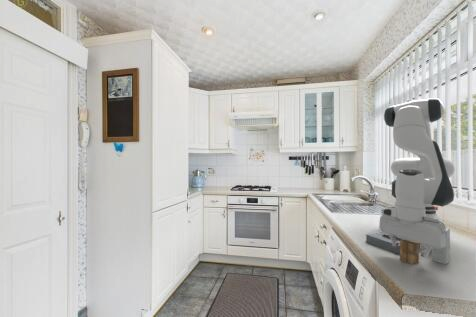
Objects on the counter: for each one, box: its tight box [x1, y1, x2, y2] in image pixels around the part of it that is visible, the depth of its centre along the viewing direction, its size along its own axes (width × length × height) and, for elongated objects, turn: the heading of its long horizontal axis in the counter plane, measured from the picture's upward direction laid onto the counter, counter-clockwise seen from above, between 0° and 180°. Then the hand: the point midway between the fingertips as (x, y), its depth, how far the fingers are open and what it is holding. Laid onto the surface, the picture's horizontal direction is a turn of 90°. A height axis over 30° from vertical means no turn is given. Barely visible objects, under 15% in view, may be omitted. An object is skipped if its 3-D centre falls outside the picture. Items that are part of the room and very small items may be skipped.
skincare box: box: [431, 226, 451, 265], centre depth 81 cm, size 6×4×12 cm
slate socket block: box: [365, 231, 421, 255], centre depth 95 cm, size 14×14×3 cm
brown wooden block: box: [399, 239, 420, 265], centre depth 80 cm, size 6×4×7 cm, turn 113°
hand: (409, 251), depth 80 cm, fingers open, 8 cm apart
